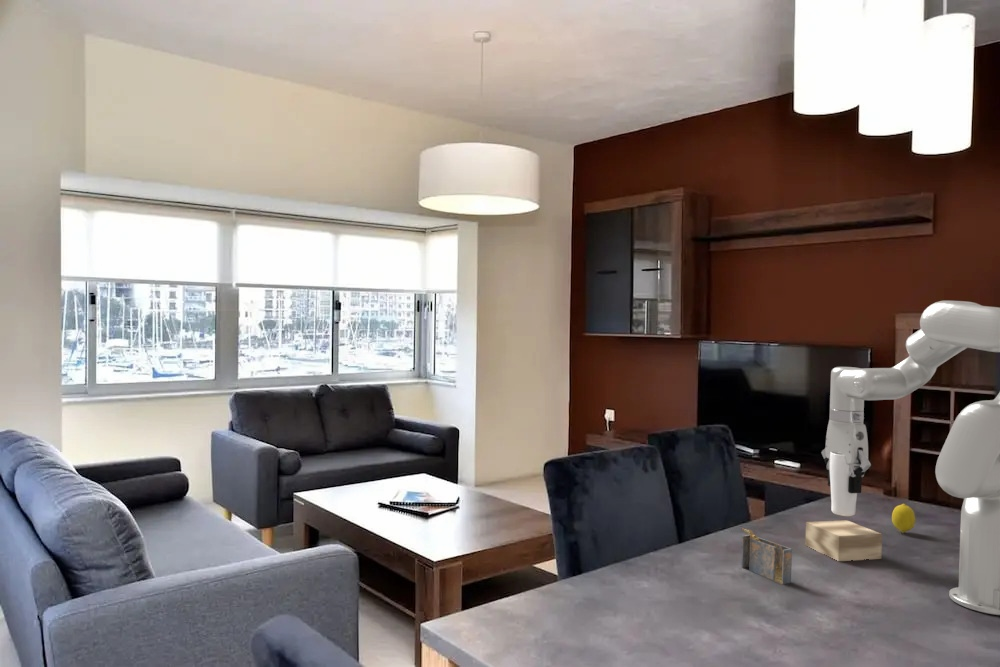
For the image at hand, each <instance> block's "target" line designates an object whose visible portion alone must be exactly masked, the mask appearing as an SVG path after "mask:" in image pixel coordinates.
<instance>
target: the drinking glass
mask: <svg viewBox="0 0 1000 667" xmlns="http://www.w3.org/2000/svg"><path fill="white" fill-rule="evenodd" d="M854 463H858V460H857V459H856V460H855V462H854ZM829 469H830V486H829V487H830V500H831V503H830V504H831V505H830V507H831V512H832V513H833V514H834V515H838V516H843V517H851V516H852V517H853V516H854V515H855V514H856V505H857V498H858V493H849V492H848V485H849V476H851V474H850V470H849V465H848V464H846V460H845V456H844V455H839V454H834V453H832V452H830V465H829ZM854 469H855V470H856V469H857V466H854Z"/></svg>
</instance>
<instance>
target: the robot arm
mask: <svg viewBox="0 0 1000 667" xmlns="http://www.w3.org/2000/svg"><path fill="white" fill-rule="evenodd" d="M919 326H920V329H918V330H917V331H915V332H914V333H912V334H911V335H909V336H908V337H907V339H906V341H905V348H906V351H907V353H908V357H906V358H905V359H903V360H902V361H900V362H899V363H897V364H896V365H894V366H892V367H872V368H871V367H869V368H860V367H852V366H836V367H834V368H832V369H831V371H830V390H829V391H830V393H829V394H830V395H829V419H828V424H827V428H826V429H827V430H826V435H825V447H824V449H822V450H821V452H820V453H821V455H822V457H823V459H824V463H825V464H826V470H827V486H828V487H831V486H830V469H829V465H830V452H832V453H834V454H839V455H844V456H845V460H846V464H848V465H849V470H850V474H851V476H849V485H848V492H849V493H857V494H861V493H862V482H863V481H862V479H863V477H865V474H866V473H867V470H868V469H870V467H871V466H872V464H871V462H870V460H869V440H868V432H867V431H868V430H867V426H866V424H864V419H865V417H864V416H865V413H864V411H865V410H864V408H865V401H883V400H889V401H890V400H899V399H901V398H902V399H903V398H904V397H906V396H908V395H910V394H913V392H914V391H917V390H918V389H919V388H921V387H923V386H924V385H926V384H927V383H928V382H929V381H930V380H931V379H932V377H933V376H934V375H935V373H936V371H937V369H938V367H940V366H941V365H943V364H944V363H945V362H947V361H949V360H950V359H951V358H953V357H954V356H956V355H958V354H959V353H961V352H962V351H964V350H966V349H974V350H975V349H976V350H980V351H986V352H993V353H1000V307H997V306H987V305H981V304H979V303H977V302H974V301H973V302H972V301H965V300H964V301H963V300H940V301H936V302H934V303H932V304H930V305H929V306H927V307H926V308H925V309H924V310H923V312H922V313H921V316H920V319H919ZM856 459H857V460H858V463H854V462H855V460H856ZM935 463H936V465H935V471H934V473H935V478H936V481H937V483H938V485H939V487H940V488H941V489H942V491H944V492H945V493H946V494H948V495H950V496H952V497H955V498H958V499H963V502H962V506H961V511H960V525H959V526H960V527H959V528H960V530H959V531H960V532H959V534H960V535H959V558H958V559H959V565H958V587H957V586H956V587H953V588H951V589H950V590H949V592H948V593H949V599H951V601H952V602H955V603H956V604H957V605H960V606H962V607H965V608H967V609H970V610H973V611H976V612H980V613H984V614H989V615H996V616H1000V391H999V393H998V394H997V395H996V396H995V398H994V399H990V400H987V399H986V400H979V401H975V402H973V403H970V404H968V405H966V406H965V407H964V408H963V409H962V410H961V411H960V413H958V415H957V416H956V417H955V420H954V422H953V424H952V426H951V428H950V430H949V433H948V435H947V438H946V439H945V442H944V444H943V445H942V448H941V450H940V452H939V456H938V457H937V460H936V462H935ZM854 466H857V469H856V470H855V469H854Z"/></svg>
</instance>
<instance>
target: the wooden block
mask: <svg viewBox="0 0 1000 667" xmlns="http://www.w3.org/2000/svg"><path fill="white" fill-rule="evenodd" d="M804 543H805V544H804V545H806V547H807V546H808V547H807V548H809V547H810V549H811V548H812V549H811V550H813V549H814V551H815V550H816V552H818V553H820V554H822V555H824V554H825V555H824V556H826V555H827V556H826V557H828V556H829V557H828V558H830V557H831V559H832V558H833V560H834V559H835V561H836V560H837V562H847V561H848V562H849V561H851V560H853V561H865V560H866V559H869V560H881V559H882V549H883V548H882V547H883V546H882V545H883V533H881V532H878V531H875V530H874V529H870V528H869V527H868V528H867V527H865V526H863V525H860V524H858V523H855V522H852V521H850V520H846V519H844V520H827V521H826V520H825V521H823V520H822V521H819V520H818V521H806V522H805V542H804ZM864 559H865V560H864ZM851 562H852V561H851Z"/></svg>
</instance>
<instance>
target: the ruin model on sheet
mask: <svg viewBox="0 0 1000 667" xmlns="http://www.w3.org/2000/svg"><path fill="white" fill-rule="evenodd" d="M741 529H742V531H743V532H744V533H746V535H742V536H741V537H742V538H741V540H742V542H741V569H744V568H749V570H748V571H749V572H752V573H755V574H757V575H759V576H762V577H764V578H767V579H769V580H772V581H773V582H775V583H776V582H777V583H778V584H780V585H785V584H790V583H792V568H793V567H792V566H793V565H792V564H793V563H792V562H793V561H792V560H793V557H792V556H793V549H792V548H791V547H787V546H785V545H783V544H782V545H781V544H779V543H777V542H773V541H770V540H767V539H764V538H761V537H759V536H757V535H755V533H753V530H751V529H747V528H744V527H742V528H741Z"/></svg>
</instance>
